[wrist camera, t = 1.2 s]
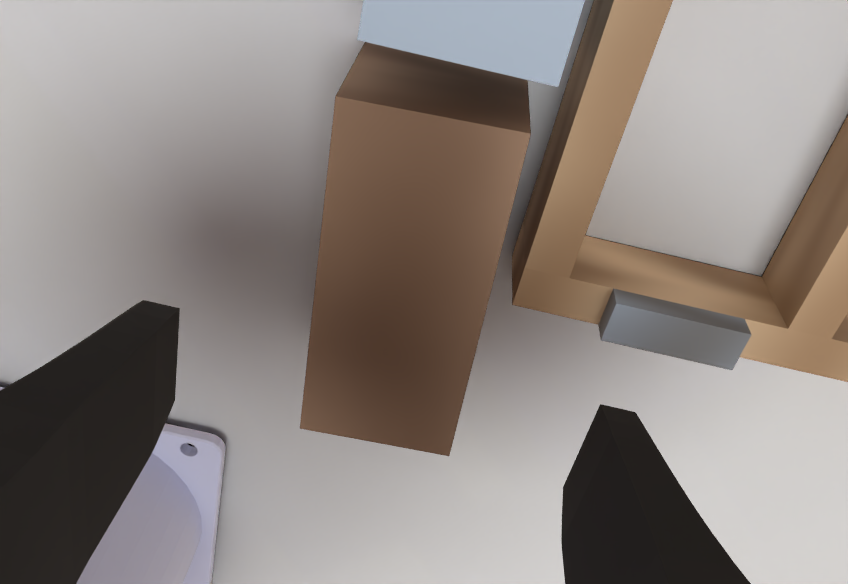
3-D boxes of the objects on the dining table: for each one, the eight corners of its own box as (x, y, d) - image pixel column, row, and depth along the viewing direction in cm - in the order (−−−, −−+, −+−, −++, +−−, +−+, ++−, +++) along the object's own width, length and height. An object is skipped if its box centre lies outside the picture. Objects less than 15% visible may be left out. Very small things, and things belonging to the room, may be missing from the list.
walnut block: (331, 328, 22) (299, 428, 18) (369, 35, 17) (335, 96, 14) (458, 352, 22) (449, 456, 18) (526, 65, 17) (531, 133, 14)
